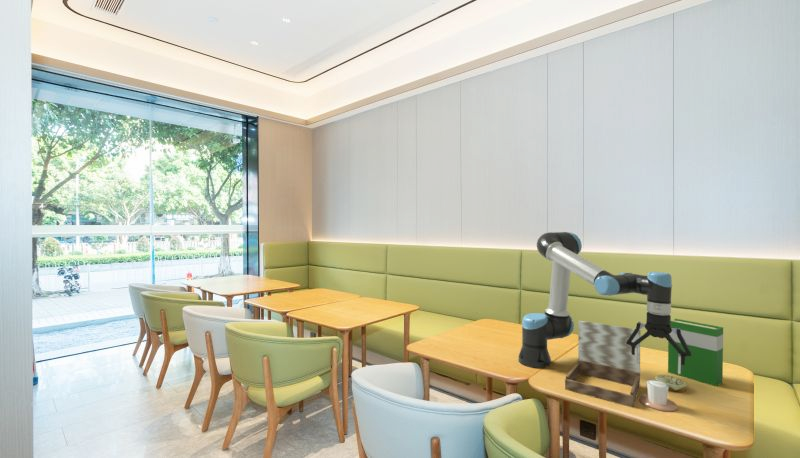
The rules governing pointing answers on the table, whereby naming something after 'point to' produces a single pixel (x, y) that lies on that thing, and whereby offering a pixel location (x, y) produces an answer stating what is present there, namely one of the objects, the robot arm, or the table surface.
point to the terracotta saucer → (668, 407)
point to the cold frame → (605, 361)
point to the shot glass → (657, 392)
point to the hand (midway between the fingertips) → (656, 368)
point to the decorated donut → (672, 383)
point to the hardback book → (698, 352)
